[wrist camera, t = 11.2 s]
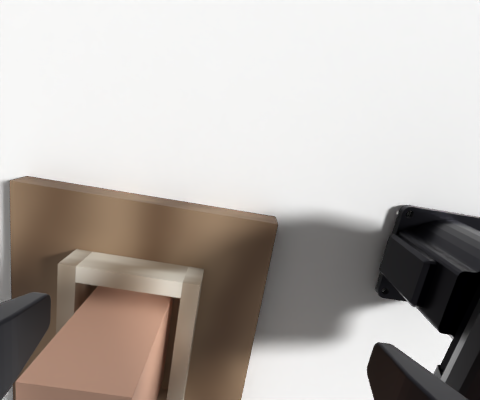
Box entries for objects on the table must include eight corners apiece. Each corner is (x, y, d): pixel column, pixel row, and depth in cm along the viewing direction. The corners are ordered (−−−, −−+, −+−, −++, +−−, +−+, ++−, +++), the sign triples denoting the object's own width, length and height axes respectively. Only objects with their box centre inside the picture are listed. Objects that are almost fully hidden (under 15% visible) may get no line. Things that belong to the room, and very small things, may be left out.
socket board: (275, 216, 20) (282, 236, 17) (231, 429, 25) (229, 479, 21) (27, 176, 20) (-18, 187, 16) (27, 402, 24) (-8, 448, 21)
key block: (163, 378, 22) (120, 522, 14) (98, 369, 21) (17, 510, 14) (174, 289, 20) (132, 397, 12) (103, 279, 20) (15, 382, 12)
